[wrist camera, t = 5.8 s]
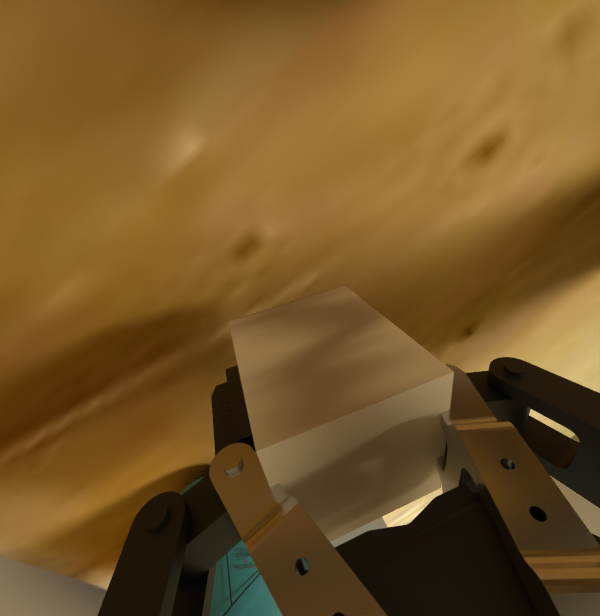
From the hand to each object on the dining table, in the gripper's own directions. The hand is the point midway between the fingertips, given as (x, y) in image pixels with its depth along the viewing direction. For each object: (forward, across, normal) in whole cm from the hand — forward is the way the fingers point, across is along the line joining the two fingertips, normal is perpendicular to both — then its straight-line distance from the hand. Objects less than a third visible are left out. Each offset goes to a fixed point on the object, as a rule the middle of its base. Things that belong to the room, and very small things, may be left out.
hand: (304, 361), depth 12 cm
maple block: (+1, 0, 0) cm, 1 cm away
